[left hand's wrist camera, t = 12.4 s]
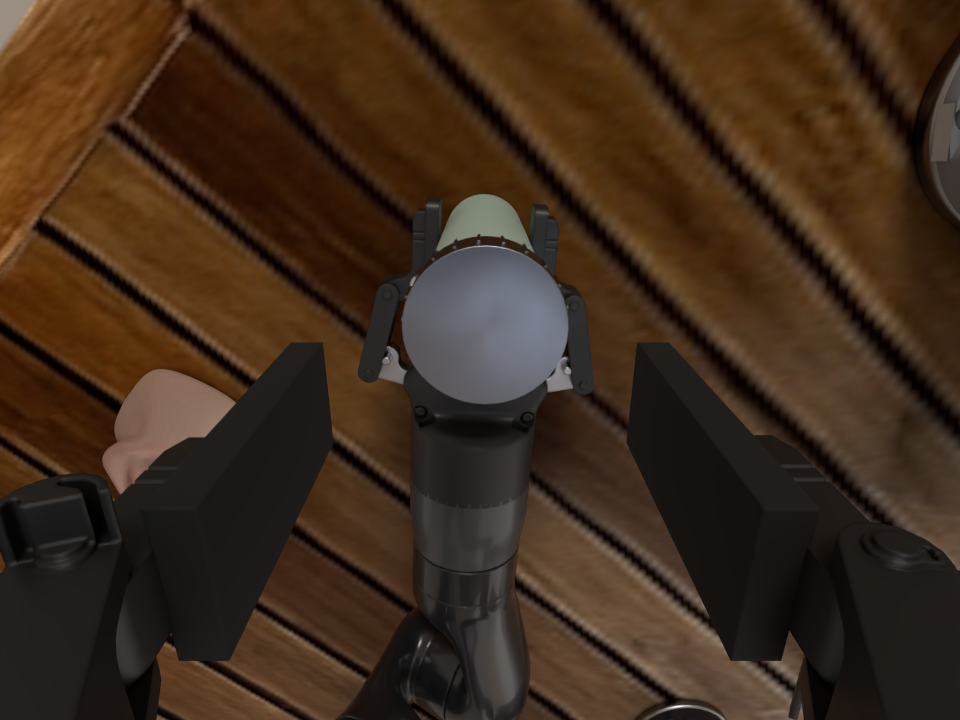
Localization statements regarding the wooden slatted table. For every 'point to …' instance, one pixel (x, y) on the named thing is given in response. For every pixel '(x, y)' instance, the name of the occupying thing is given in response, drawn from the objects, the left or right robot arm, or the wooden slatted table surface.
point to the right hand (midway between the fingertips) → (486, 203)
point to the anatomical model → (160, 421)
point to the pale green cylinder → (483, 221)
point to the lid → (485, 320)
